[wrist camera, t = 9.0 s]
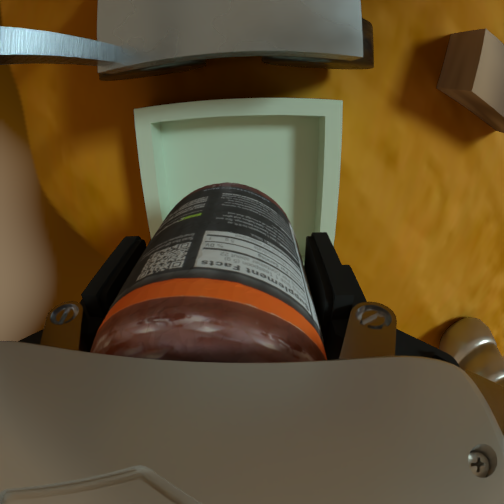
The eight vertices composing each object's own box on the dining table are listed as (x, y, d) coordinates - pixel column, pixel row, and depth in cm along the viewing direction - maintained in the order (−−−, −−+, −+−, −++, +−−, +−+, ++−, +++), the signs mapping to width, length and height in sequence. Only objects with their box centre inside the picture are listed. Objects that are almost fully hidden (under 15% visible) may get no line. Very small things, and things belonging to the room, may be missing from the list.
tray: (332, 99, 17) (342, 100, 15) (323, 262, 23) (329, 280, 21) (147, 106, 18) (133, 109, 16) (168, 264, 24) (159, 282, 21)
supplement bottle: (238, 313, 16) (224, 538, 6) (142, 248, 14) (27, 470, 4) (322, 235, 14) (410, 495, 4) (218, 149, 12) (72, 404, 2)
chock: (508, 81, 15) (544, 86, 11) (494, 130, 17) (530, 142, 13) (449, 34, 14) (485, 28, 10) (435, 87, 16) (471, 91, 12)
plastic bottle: (459, 302, 25) (550, 466, 8) (488, 317, 26) (565, 454, 9) (421, 346, 28) (484, 510, 11) (454, 356, 29) (512, 493, 12)
